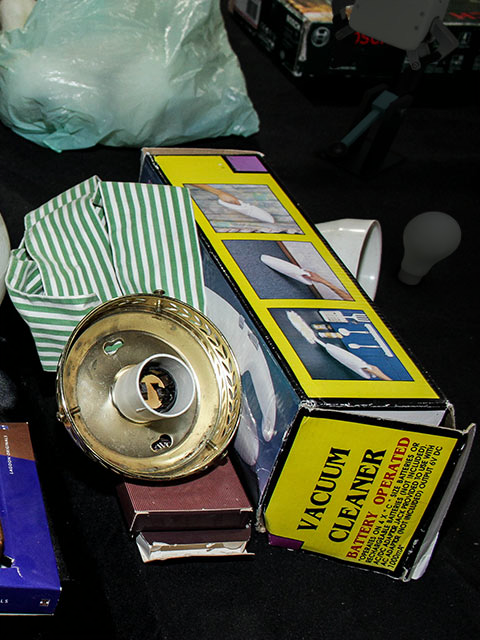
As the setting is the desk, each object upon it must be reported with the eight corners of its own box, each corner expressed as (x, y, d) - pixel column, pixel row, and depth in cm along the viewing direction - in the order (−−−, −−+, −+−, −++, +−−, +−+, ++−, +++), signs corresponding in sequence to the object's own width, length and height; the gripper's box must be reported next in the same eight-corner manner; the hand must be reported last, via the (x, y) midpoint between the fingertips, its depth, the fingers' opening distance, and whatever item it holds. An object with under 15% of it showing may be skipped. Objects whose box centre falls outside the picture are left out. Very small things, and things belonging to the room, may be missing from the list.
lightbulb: (433, 280, 115) (473, 211, 107) (426, 306, 111) (467, 237, 104) (383, 264, 117) (419, 196, 110) (375, 289, 113) (411, 220, 106)
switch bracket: (362, 185, 131) (394, 114, 123) (316, 161, 136) (344, 91, 128) (401, 165, 135) (435, 95, 127) (355, 142, 140) (385, 74, 132)
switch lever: (337, 171, 129) (338, 158, 126) (319, 161, 131) (318, 148, 128) (400, 109, 129) (402, 95, 126) (381, 100, 131) (382, 86, 128)
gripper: (507, -35, 104) (445, 96, 116) (375, -75, 115) (330, 50, 127) (472, -22, 101) (412, 112, 113) (340, -64, 112) (298, 63, 123)
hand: (369, 79), depth 120 cm, fingers open, 9 cm apart
